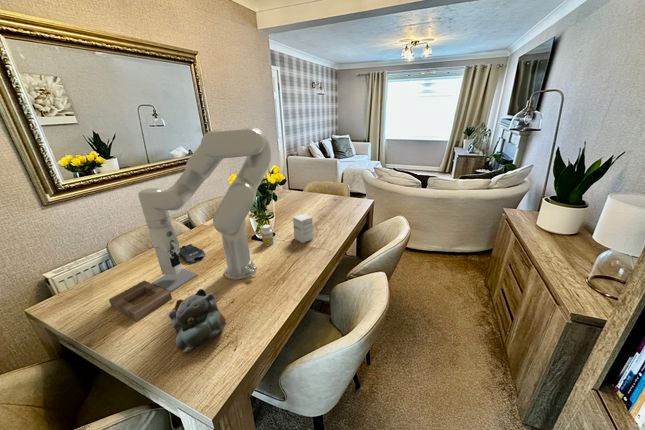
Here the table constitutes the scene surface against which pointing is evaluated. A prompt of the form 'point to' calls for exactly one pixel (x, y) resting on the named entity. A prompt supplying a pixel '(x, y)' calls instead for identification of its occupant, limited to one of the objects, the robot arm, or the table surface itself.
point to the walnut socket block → (144, 307)
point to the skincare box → (167, 262)
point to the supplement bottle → (267, 235)
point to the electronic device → (191, 253)
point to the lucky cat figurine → (196, 320)
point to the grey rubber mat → (174, 280)
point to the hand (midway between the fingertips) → (170, 262)
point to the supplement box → (303, 228)
